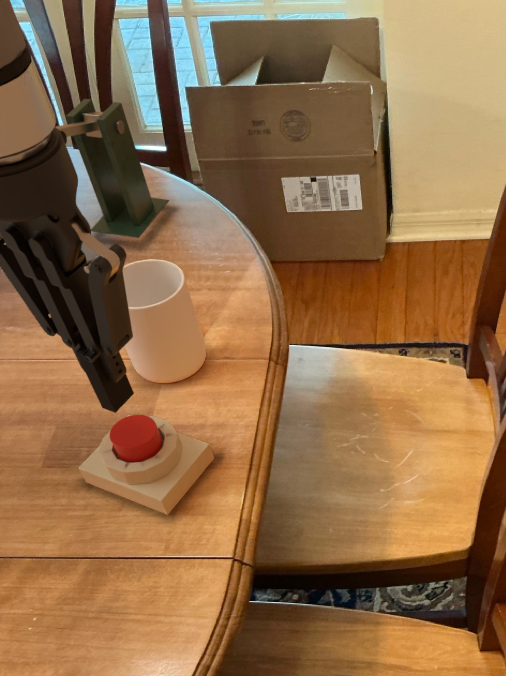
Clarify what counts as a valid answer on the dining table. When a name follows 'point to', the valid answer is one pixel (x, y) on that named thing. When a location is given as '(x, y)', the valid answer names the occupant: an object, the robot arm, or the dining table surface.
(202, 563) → the dining table surface
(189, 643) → the dining table surface
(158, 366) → the cup
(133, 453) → the button
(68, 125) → the bolt lever
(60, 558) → the dining table surface
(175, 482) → the confirm box
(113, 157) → the lock bracket
